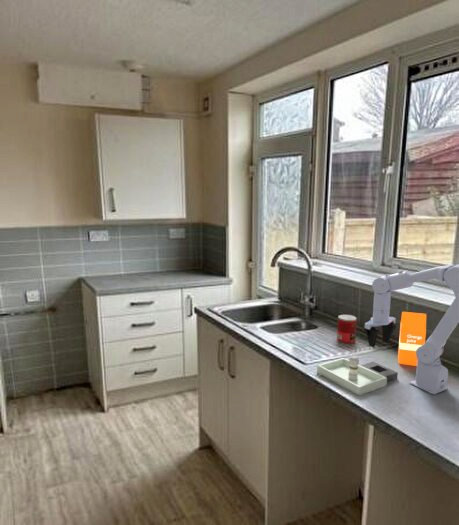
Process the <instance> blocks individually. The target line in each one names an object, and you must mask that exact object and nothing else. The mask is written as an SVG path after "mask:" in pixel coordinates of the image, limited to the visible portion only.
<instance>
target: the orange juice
mask: <svg viewBox="0 0 459 525" xmlns="http://www.w3.org/2000/svg"><path fill="white" fill-rule="evenodd" d="M399 326H400V327H399V340H398V351H397V361H398V364H400V365H406V366H407V365H408V366H415V367H417V357H416V350H417V349H418V348H419V347H420V346H422V345H423V344H424V343H425V342H426V338H427V337H426V335H427V313H421V312H411V311H409V312H408V311H402V312H401V319H400V325H399Z"/></svg>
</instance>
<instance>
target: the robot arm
mask: <svg viewBox="0 0 459 525" xmlns="http://www.w3.org/2000/svg"><path fill="white" fill-rule="evenodd" d="M435 279H436V280H437V281H439V282H445V284H447V286H448V287H449V288H450V289H451V290H452V291H453V292H452V293H453V294H454V299H453V301H452V302H451V303H450V306H449V307H448V309H447V310H446V312H445V313H444V315H443V316H442V317H441V319H440V321H439V322H438V324H437V326H436V327H435V328H434V330H433V332H432V333H431V334H430V336H429V337H428V338H427V340H425V343H424V344H423V345H422V346H420V347H419V348H418V349H417V350H416V357H417V366H416V371H415V379H414V380H411V381H410V382H409V385H410V384H411V385H412V386H415V387H416V388H419V389H421V390H423V391H426V392H428V393H430V394H432V395H437V394H439V393H442V392H444V391H446V390H448V389H449V387H448V378H449V370H448V368H447V367H445V366H444V365H442V362H441V358H440V356H442V355H443V353H444V346H445V344H447V340H448V339H449V337H450V336H451V335H452V333H453V331H454V330H455V328H457V325H458V324H459V263H457V264H446V265H445V264H444V265H439V266H436V267H431V268H429V269H424V270H421V271H416V272H413V273H412V272H410V271H408V270H403V269H400V270H398V271H397V272H396V273H392V274H390V273H387V274H385V275H383V276H379V277H376V278H375V279H374V280H373V281H372V284H371V287H372V290H373V292H374V293H373V303H372V304H373V306H372V317H370V320H369V321H367V322H365V323H364V326H363V330H364V333H365V334H366V337H367V341H368V346H369V347H372V348H375V347H376V343H377V338H378V336H379V333H380V330H378V329H377V327H381V329H382V331H381V332H382V342H383V343H386V344H389V342H390V339H391V337H392V336H393V333H394V332H395V329H396V328H397V324H396V320H397V318H396V317H393V316H390V314H391V312H390V310H391V298H392V297H391V295H392V291H397V290H398V291H399V290H402V289H406V288H411V287H412V286H413V284H415V283H419V282H423V281H424V282H425V281H430V280H435Z"/></svg>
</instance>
